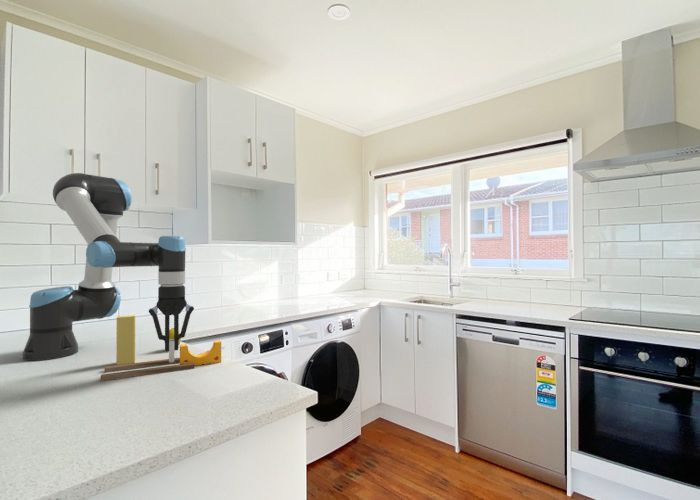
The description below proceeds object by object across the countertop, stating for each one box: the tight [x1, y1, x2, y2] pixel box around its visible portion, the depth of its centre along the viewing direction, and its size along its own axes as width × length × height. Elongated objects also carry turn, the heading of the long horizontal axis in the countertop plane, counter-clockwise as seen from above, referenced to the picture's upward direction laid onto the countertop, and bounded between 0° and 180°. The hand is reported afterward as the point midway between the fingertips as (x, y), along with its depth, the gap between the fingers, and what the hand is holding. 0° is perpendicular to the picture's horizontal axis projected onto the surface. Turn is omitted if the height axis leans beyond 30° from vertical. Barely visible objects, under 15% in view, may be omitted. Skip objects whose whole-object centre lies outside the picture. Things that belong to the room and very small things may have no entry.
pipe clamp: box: [179, 340, 222, 367], centre depth 118 cm, size 12×4×6 cm, turn 120°
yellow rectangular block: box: [115, 314, 137, 365], centre depth 119 cm, size 4×5×15 cm
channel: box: [99, 357, 195, 382], centre depth 112 cm, size 10×24×1 cm, turn 118°
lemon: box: [169, 327, 182, 346], centre depth 135 cm, size 6×6×8 cm
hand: (171, 361), depth 114 cm, fingers closed
